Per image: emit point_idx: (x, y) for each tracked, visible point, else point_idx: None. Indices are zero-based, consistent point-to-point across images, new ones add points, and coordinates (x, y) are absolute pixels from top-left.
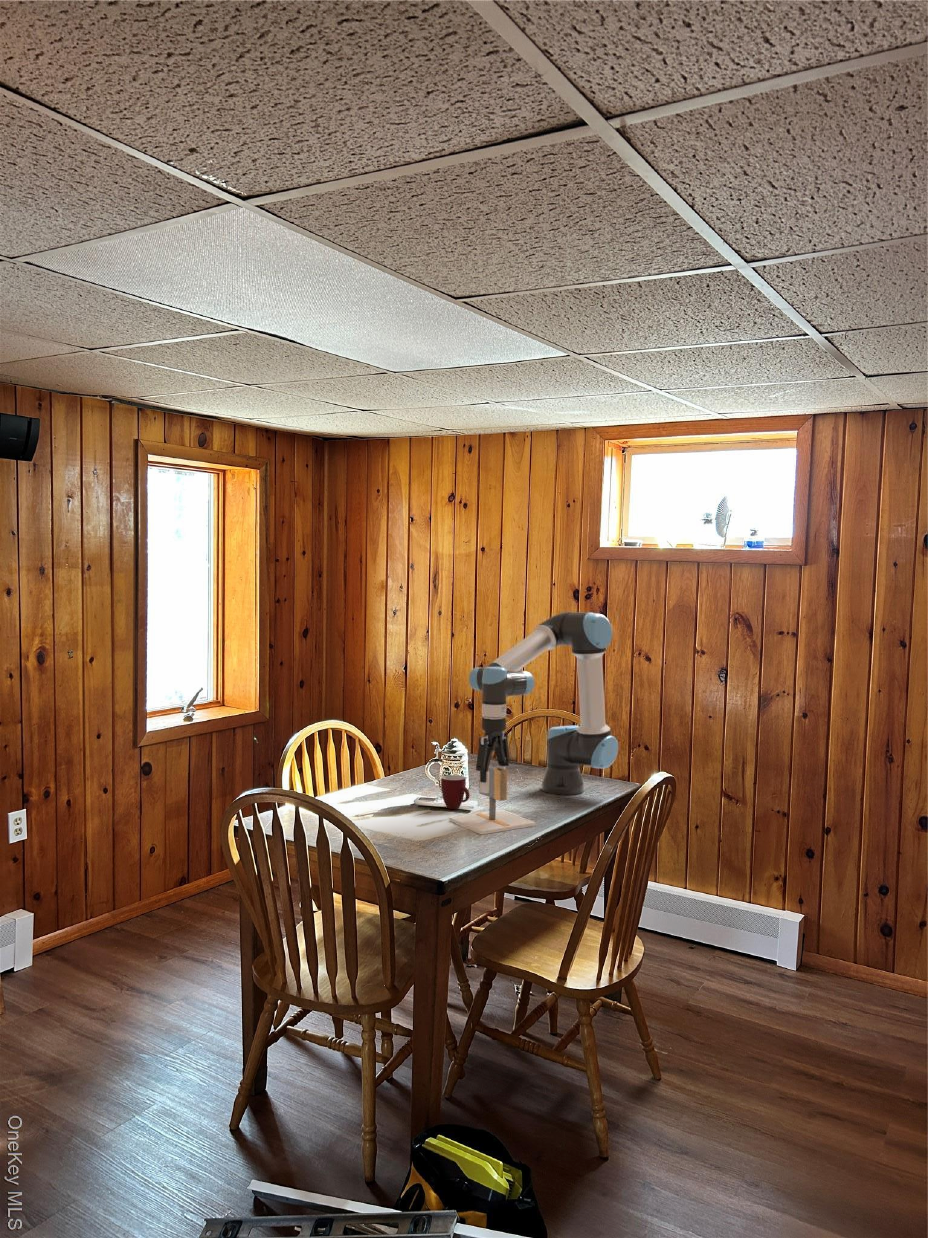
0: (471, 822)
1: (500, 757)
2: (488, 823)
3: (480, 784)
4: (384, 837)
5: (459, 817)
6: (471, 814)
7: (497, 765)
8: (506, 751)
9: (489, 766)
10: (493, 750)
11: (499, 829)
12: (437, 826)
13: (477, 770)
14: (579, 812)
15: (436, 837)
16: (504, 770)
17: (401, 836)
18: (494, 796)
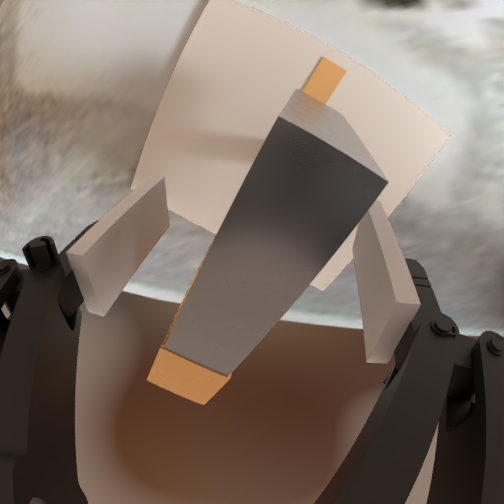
0: (195, 102)
1: (366, 429)
2: (221, 164)
3: (126, 198)
4: (3, 18)
5: (235, 23)
6: (311, 42)
7: (411, 303)
8: (432, 489)
9: (253, 279)
10: (75, 496)
11: (193, 220)
12: (128, 15)
13: (36, 242)
14: (484, 327)
15: (49, 99)
16: (185, 396)
17: (19, 33)
18: (219, 228)
